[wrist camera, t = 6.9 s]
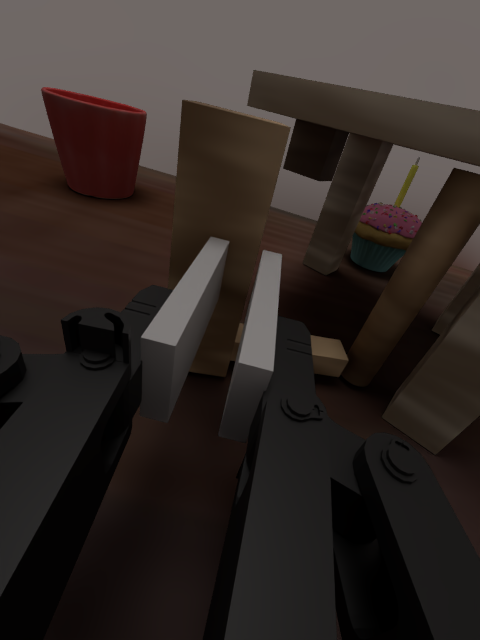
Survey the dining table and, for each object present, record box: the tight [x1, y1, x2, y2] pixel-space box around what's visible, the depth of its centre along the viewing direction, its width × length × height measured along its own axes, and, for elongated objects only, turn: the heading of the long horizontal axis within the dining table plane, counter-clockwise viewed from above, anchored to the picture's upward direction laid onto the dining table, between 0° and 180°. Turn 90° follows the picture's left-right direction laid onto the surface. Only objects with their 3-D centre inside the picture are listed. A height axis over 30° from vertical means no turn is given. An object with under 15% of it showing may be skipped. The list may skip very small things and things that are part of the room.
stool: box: [248, 70, 480, 455], centre depth 21 cm, size 17×17×14 cm
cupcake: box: [351, 157, 422, 272], centre depth 34 cm, size 9×8×12 cm
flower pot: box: [41, 87, 147, 199], centre depth 36 cm, size 11×11×10 cm
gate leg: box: [168, 100, 480, 387], centre depth 15 cm, size 13×4×12 cm, turn 90°
